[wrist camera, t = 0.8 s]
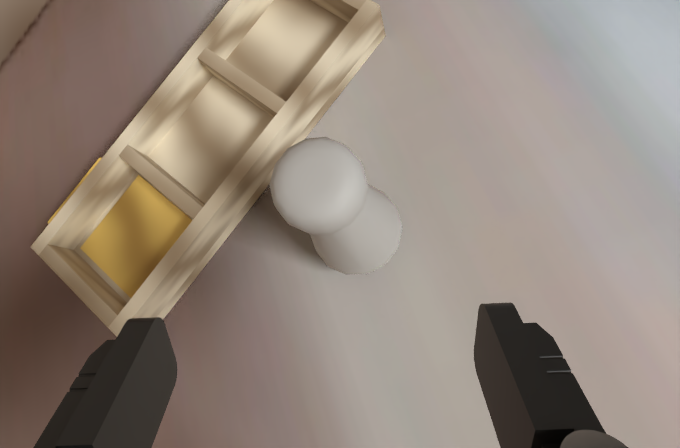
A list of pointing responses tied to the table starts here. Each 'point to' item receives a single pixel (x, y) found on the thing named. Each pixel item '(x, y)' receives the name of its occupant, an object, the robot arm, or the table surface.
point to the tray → (203, 151)
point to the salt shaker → (336, 205)
